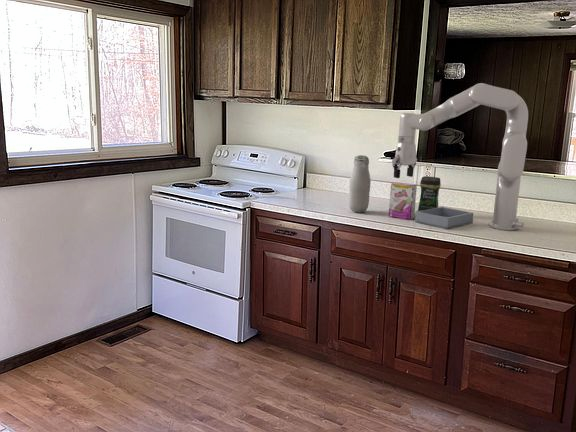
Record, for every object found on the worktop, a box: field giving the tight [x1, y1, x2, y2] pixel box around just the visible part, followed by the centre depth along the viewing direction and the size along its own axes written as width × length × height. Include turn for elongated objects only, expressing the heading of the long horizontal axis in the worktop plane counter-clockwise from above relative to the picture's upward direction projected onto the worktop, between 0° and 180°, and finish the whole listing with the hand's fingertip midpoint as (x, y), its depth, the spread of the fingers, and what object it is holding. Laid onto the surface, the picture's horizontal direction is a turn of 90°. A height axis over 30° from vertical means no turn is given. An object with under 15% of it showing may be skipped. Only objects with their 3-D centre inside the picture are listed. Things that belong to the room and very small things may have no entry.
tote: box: [414, 206, 474, 230], centre depth 253 cm, size 17×20×5 cm
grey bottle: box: [348, 154, 372, 213], centre depth 270 cm, size 10×10×28 cm
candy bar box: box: [388, 181, 418, 221], centre depth 260 cm, size 11×5×16 cm, turn 58°
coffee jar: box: [417, 175, 442, 211], centre depth 270 cm, size 10×8×19 cm
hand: (403, 177), depth 258 cm, fingers open, 9 cm apart
